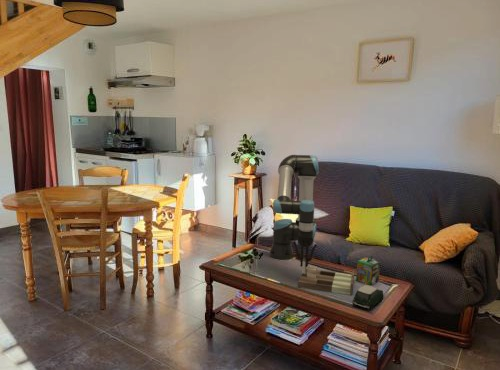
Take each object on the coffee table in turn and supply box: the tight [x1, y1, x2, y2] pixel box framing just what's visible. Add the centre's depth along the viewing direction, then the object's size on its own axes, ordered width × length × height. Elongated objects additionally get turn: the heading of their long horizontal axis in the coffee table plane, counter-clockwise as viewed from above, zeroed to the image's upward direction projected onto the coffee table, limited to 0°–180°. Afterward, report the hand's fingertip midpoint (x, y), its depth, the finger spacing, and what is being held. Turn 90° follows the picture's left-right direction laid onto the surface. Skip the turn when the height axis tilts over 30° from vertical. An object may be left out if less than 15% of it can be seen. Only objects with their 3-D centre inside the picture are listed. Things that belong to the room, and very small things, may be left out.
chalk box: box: [355, 254, 381, 286], centre depth 207 cm, size 9×9×15 cm
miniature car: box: [352, 284, 384, 311], centre depth 182 cm, size 9×18×8 cm, turn 139°
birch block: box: [306, 265, 318, 278], centre depth 204 cm, size 4×4×4 cm
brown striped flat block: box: [297, 268, 356, 296], centre depth 202 cm, size 20×27×6 cm
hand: (303, 272), depth 206 cm, fingers closed
